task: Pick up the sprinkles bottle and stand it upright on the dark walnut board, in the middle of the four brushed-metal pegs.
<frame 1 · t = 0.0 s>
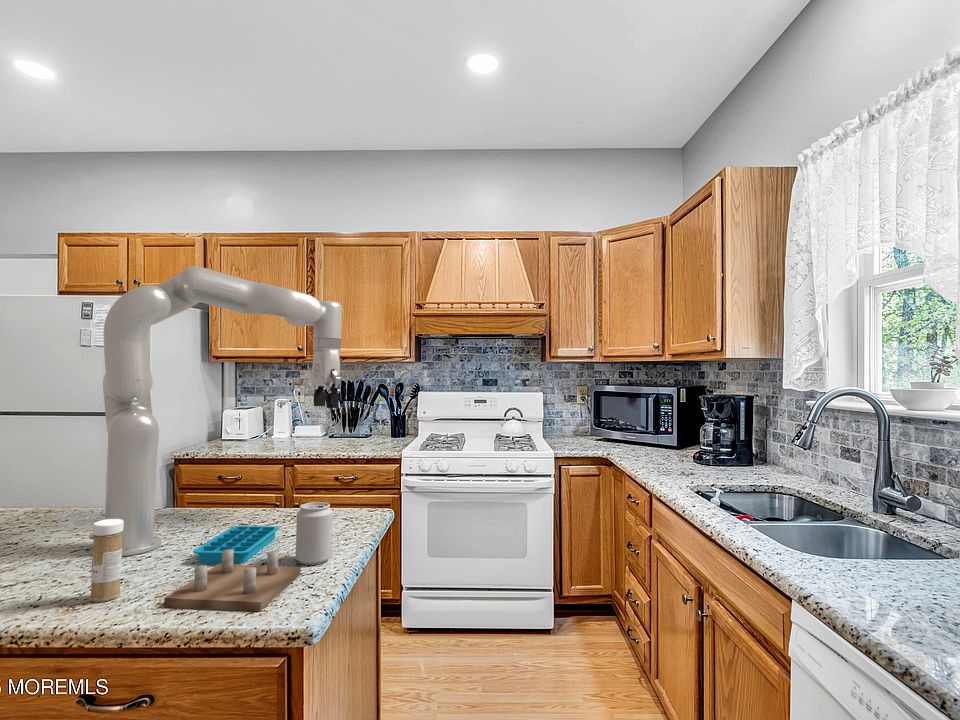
hand: (325, 406, 150), 31 cm above the countertop, tool pointing down, fingers open, 9 cm apart
sprinkles bottle: (105, 599, 95), on the countertop
ice cube tray: (239, 552, 123), on the countertop
can: (313, 561, 117), on the countertop
peg board: (237, 589, 100), on the countertop
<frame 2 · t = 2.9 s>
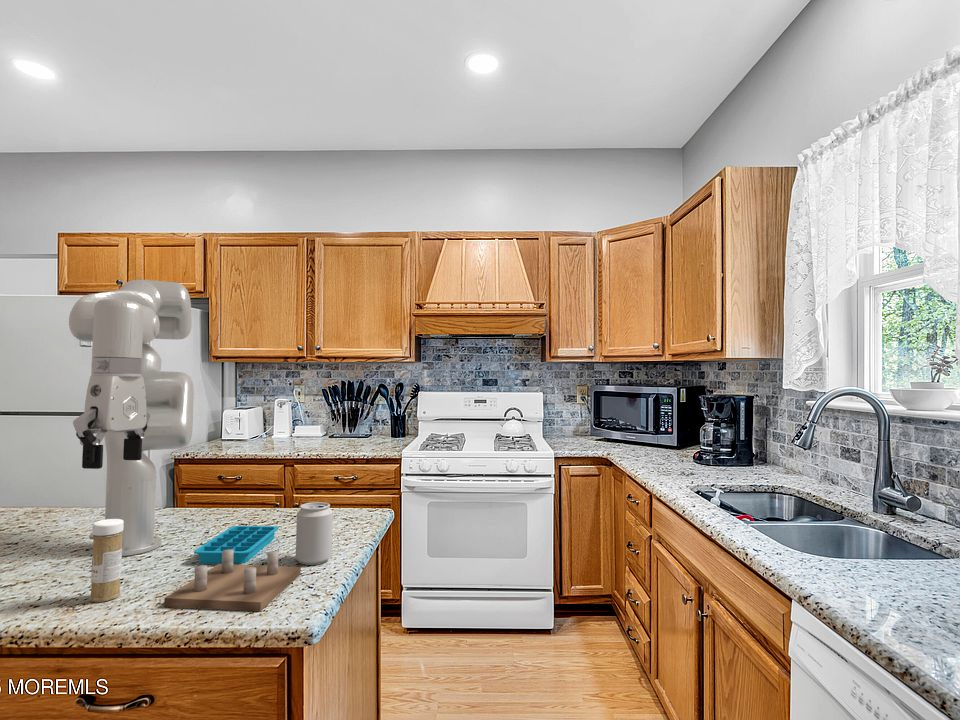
hand: (113, 464, 97), 24 cm above the countertop, tool pointing down, fingers open, 9 cm apart
nothing on the countertop moved.
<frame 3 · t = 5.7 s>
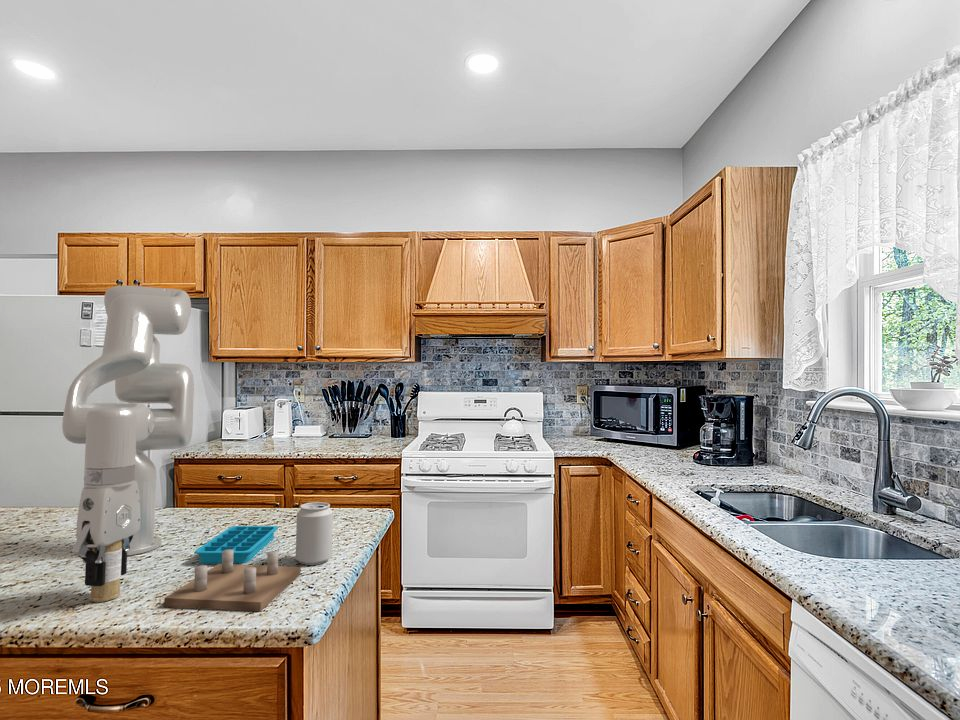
hand: (106, 578, 96), 3 cm above the countertop, tool pointing down, fingers closed on sprinkles bottle, 4 cm apart
sprinkles bottle: (105, 599, 95), on the countertop, touching gripper
everything else where it was.
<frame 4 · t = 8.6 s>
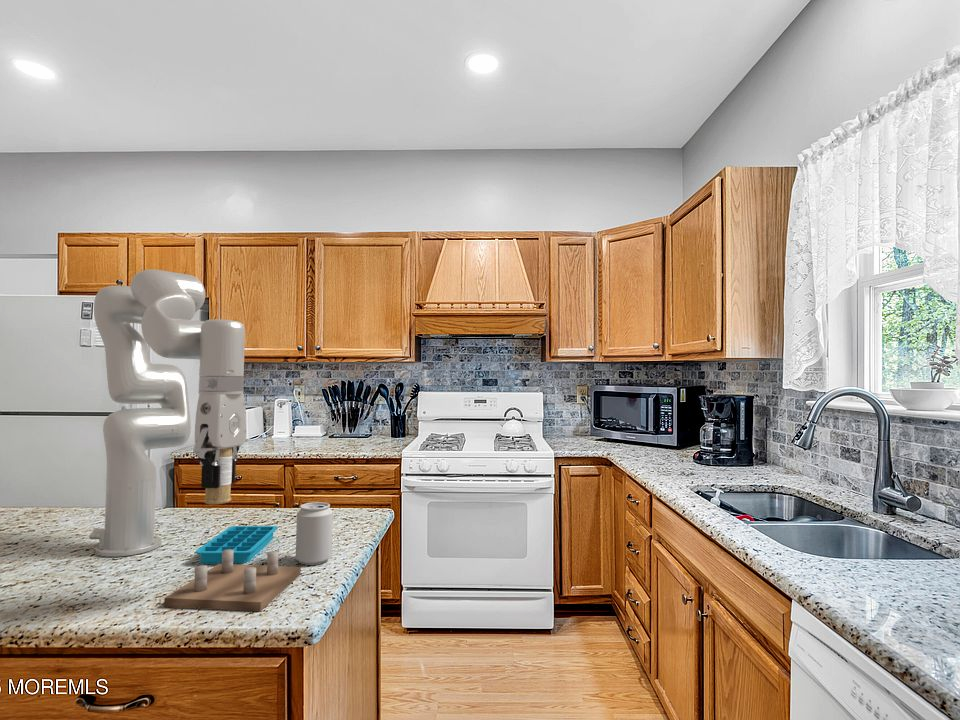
hand: (218, 483, 100), 20 cm above the countertop, tool pointing down, fingers closed on sprinkles bottle, 4 cm apart
sprinkles bottle: (218, 503, 100), point 16 cm above the countertop, touching gripper
everything else where it was.
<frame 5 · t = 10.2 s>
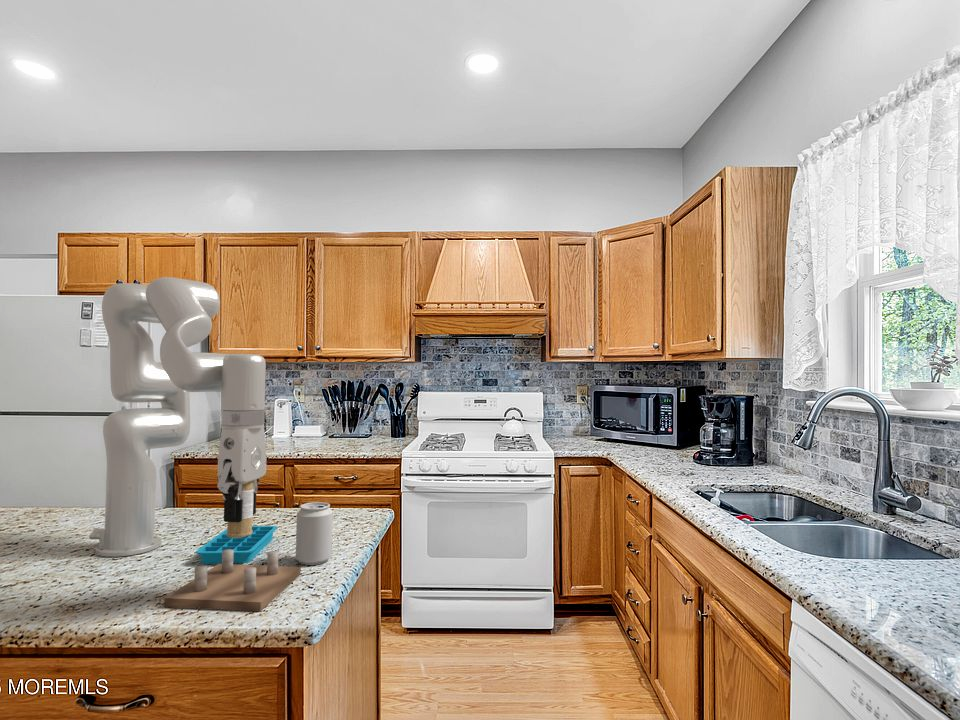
hand: (240, 516, 100), 13 cm above the countertop, tool pointing down, fingers closed on sprinkles bottle, 4 cm apart
sprinkles bottle: (239, 536, 100), point 10 cm above the countertop, touching gripper
everything else where it was.
when the fingers open (6 cm above the countertop, at t = 11.8 s): sprinkles bottle drops 1 cm, resting on peg board.
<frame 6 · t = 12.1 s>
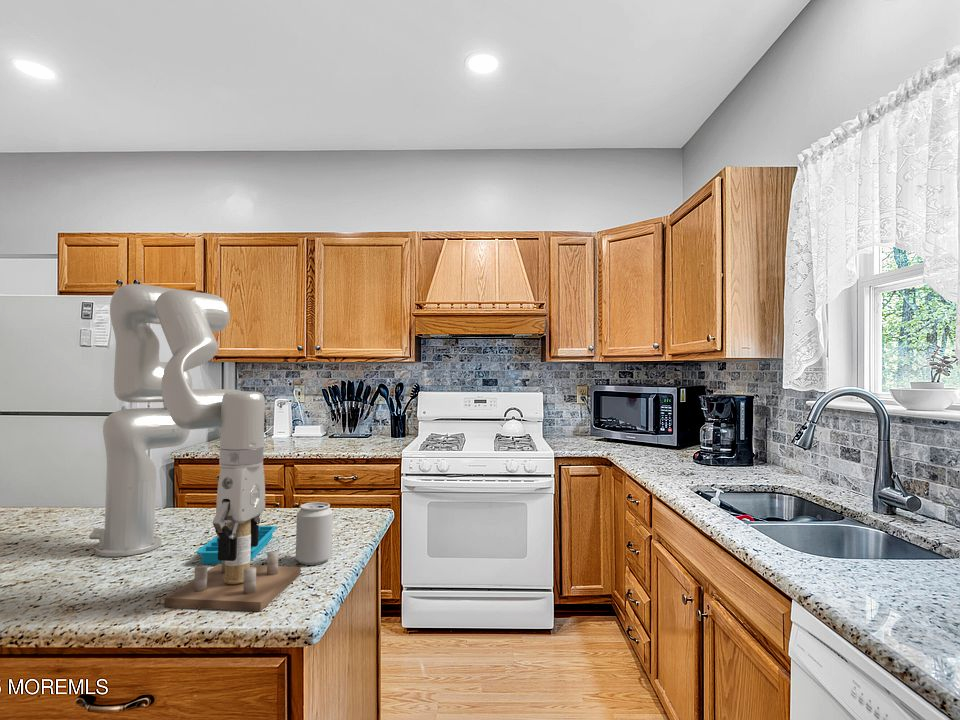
hand: (238, 552, 100), 7 cm above the countertop, tool pointing down, fingers open, 7 cm apart
sprinkles bottle: (237, 581, 100), point 1 cm above the countertop, touching peg board
everything else where it was.
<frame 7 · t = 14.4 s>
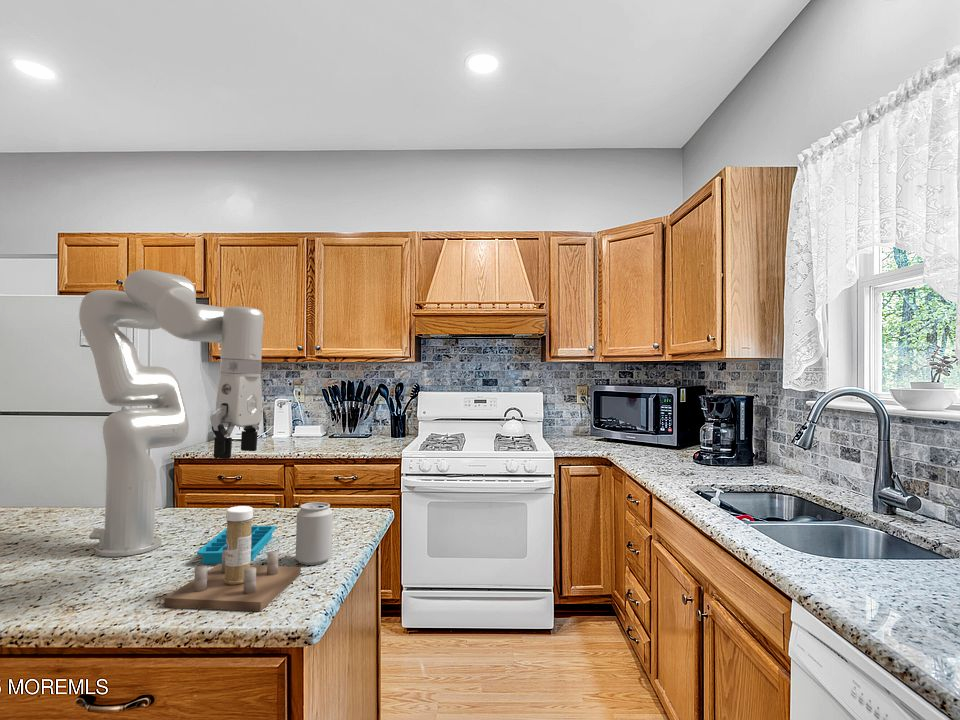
hand: (236, 454, 108), 24 cm above the countertop, tool pointing down, fingers open, 9 cm apart
nothing on the countertop moved.
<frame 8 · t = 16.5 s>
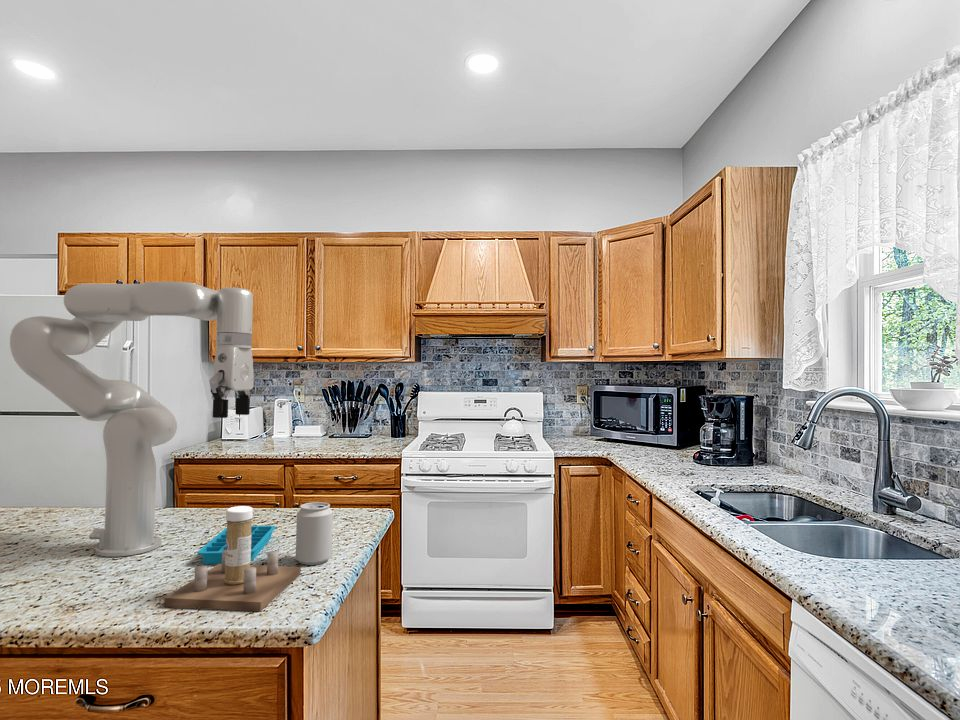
hand: (231, 416, 124), 30 cm above the countertop, tool pointing down, fingers open, 9 cm apart
nothing on the countertop moved.
at the end: sprinkles bottle 0.2 cm off-centre on the peg board, point 1.3 cm above the peg board's base; sprinkles bottle tilted 0°; the gripper is holding nothing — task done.
